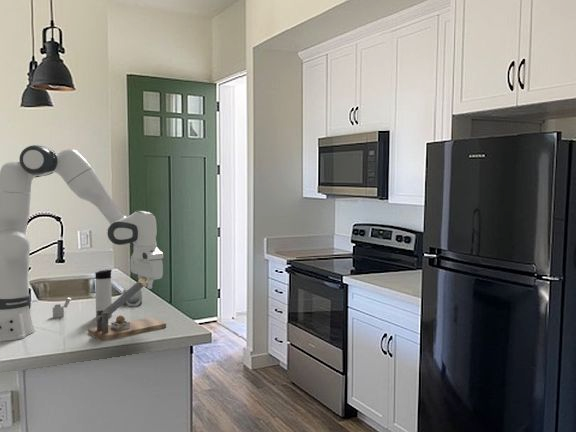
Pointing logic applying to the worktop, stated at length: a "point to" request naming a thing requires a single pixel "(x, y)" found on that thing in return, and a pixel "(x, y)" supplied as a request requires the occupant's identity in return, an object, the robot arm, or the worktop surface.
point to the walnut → (120, 319)
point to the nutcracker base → (129, 331)
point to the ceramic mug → (134, 298)
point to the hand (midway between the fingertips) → (146, 287)
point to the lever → (124, 297)
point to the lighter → (60, 309)
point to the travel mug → (103, 290)
